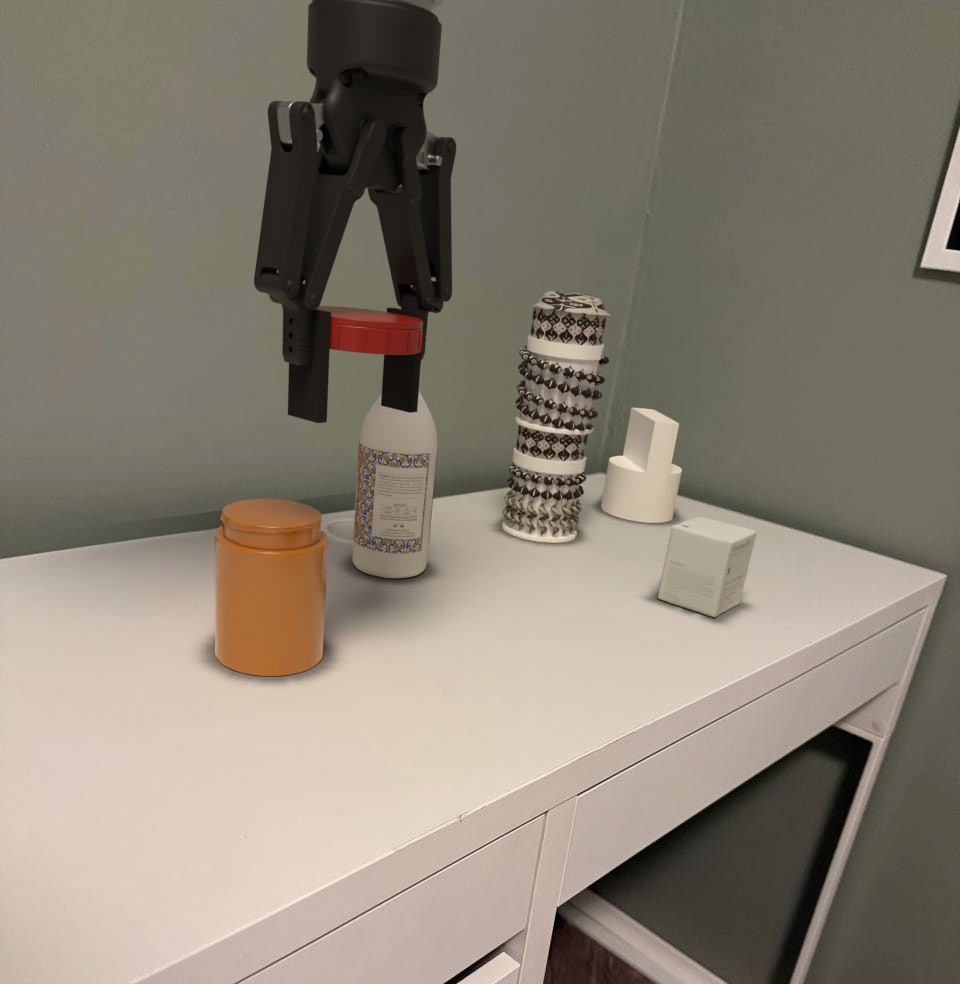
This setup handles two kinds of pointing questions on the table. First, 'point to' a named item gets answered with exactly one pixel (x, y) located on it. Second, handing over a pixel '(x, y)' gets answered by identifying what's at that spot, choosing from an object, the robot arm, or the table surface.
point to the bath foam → (394, 491)
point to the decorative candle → (555, 416)
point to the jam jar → (270, 587)
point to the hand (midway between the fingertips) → (355, 413)
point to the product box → (706, 565)
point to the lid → (374, 331)
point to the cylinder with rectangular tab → (644, 470)
